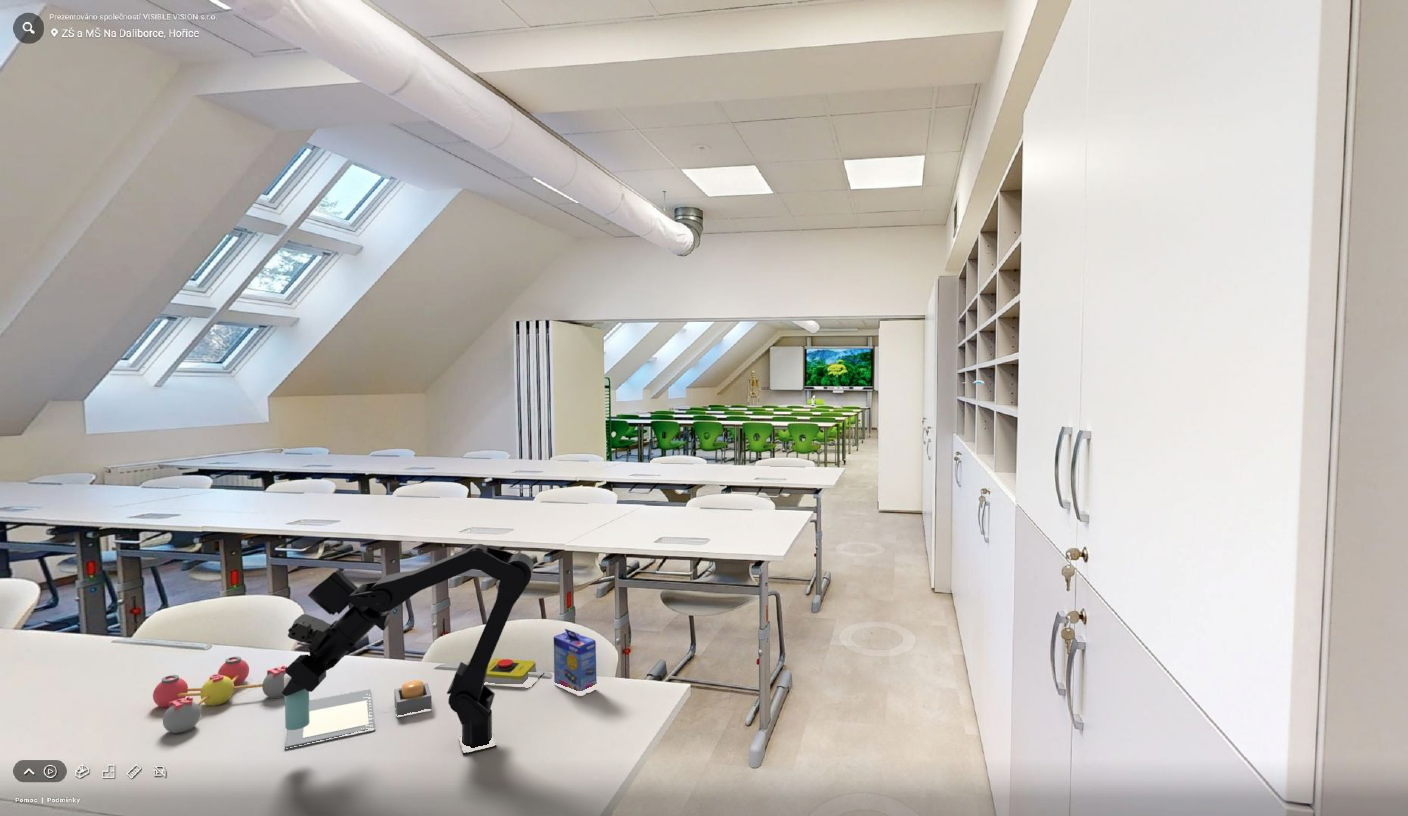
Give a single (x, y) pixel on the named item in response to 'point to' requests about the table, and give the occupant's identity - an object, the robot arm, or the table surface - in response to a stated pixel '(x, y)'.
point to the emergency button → (509, 671)
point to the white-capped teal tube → (296, 708)
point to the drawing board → (333, 718)
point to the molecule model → (209, 692)
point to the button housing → (412, 701)
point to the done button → (412, 689)
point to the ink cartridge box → (574, 661)
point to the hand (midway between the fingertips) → (289, 688)
